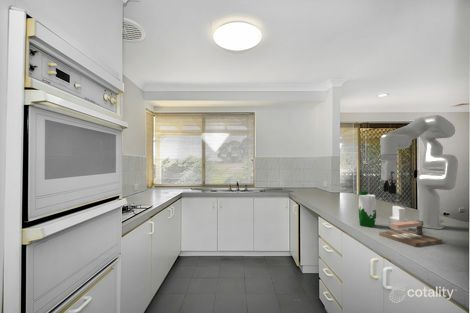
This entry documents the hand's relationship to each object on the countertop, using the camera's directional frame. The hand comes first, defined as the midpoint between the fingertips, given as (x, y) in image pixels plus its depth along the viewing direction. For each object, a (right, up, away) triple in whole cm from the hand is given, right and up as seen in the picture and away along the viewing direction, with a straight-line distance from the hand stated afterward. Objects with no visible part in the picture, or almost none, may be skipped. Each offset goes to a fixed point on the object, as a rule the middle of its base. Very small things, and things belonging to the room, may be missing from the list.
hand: (389, 192), depth 126 cm
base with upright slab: (+13, -22, +12) cm, 28 cm away
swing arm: (+5, -15, -7) cm, 18 cm away
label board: (+6, -22, -6) cm, 23 cm away
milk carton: (-1, -22, +19) cm, 29 cm away
